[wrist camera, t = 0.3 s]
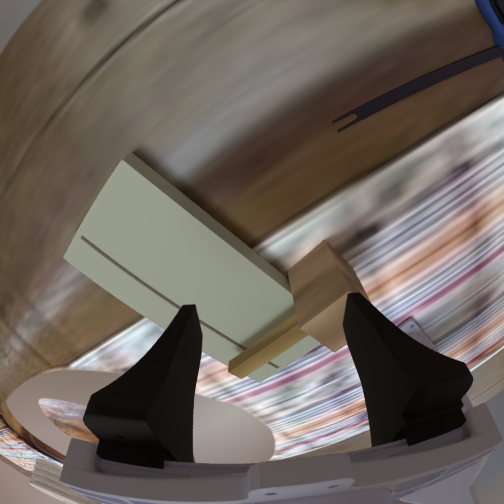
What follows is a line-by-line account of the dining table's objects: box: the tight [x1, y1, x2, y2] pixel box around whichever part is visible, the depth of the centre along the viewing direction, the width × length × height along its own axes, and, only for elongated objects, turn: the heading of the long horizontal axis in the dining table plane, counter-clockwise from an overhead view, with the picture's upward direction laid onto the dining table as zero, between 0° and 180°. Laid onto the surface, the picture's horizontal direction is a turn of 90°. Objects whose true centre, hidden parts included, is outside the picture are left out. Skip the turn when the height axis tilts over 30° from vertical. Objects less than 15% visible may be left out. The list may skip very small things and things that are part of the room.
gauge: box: [228, 240, 371, 379], centre depth 23 cm, size 4×12×6 cm, turn 136°
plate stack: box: [30, 459, 101, 504], centre depth 64 cm, size 28×28×12 cm
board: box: [64, 153, 321, 382], centre depth 24 cm, size 22×10×2 cm, turn 46°
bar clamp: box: [332, 0, 504, 132], centre depth 15 cm, size 32×2×10 cm
